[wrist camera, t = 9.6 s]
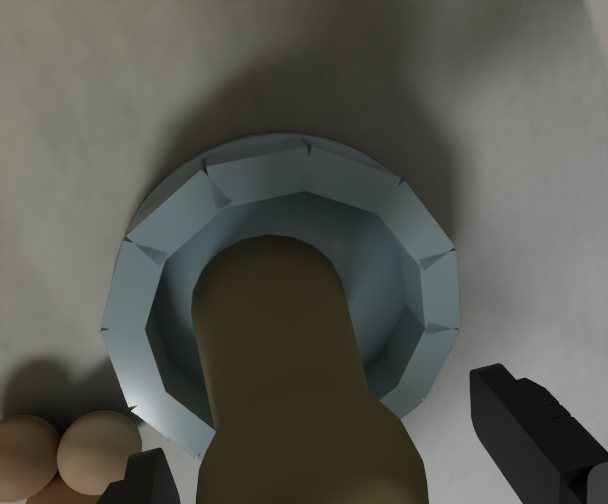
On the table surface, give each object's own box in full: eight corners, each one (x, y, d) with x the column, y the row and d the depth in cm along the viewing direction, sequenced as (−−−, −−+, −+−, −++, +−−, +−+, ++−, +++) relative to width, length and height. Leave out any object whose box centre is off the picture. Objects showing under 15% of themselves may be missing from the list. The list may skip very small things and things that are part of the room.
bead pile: (-34, 426, 21) (-73, 487, 18) (89, 352, 21) (69, 402, 18) (70, 516, 24) (50, 582, 21) (180, 451, 23) (176, 508, 20)
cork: (318, 211, 19) (441, 392, 9) (361, 341, 21) (495, 599, 11) (164, 268, 19) (111, 518, 9) (225, 393, 21) (238, 703, 11)
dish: (68, 170, 18) (41, 193, 15) (417, 101, 19) (454, 110, 17) (166, 449, 23) (160, 506, 20) (439, 380, 24) (470, 425, 22)
